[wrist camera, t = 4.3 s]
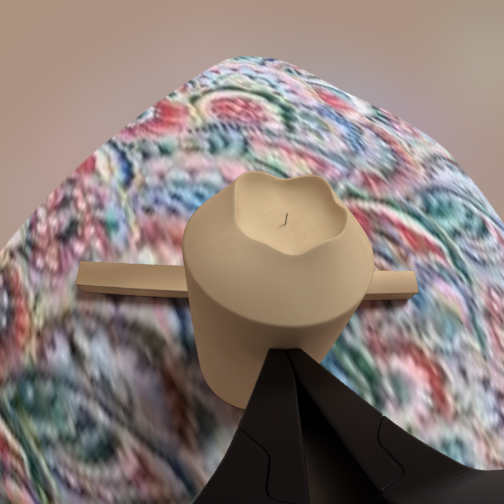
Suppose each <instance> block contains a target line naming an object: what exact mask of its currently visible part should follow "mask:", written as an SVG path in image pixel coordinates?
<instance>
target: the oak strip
mask: <svg viewBox="0 0 504 504" xmlns="http://www.w3.org/2000/svg"><path fill="white" fill-rule="evenodd" d="M76 285H77V286H78V287H79V288H80V289H81V290H82V291H84V292H95V293H108V294H122V295H137V296H154V297H173V298H189V297H188V290H187V283H186V276H185V268H184V266H172V265H148V264H125V263H104V262H83V261H80V265H79V270H78V275H77V279H76ZM417 293H418V287H417V282H416V277H415V272H414V271H374V274H373V279H372V282H371V285H370V287H369V289H368V291H367V293H366V294H365V296H364V298H363V299H362V300H391V299H409V298H411V297H412V296H414V295H415V294H417Z"/></svg>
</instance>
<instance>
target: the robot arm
mask: <svg viewBox="0 0 504 504" xmlns="http://www.w3.org/2000/svg"><path fill="white" fill-rule="evenodd" d="M193 504H504V469H503V470H477V469H473V468H470V467H467V466H465V465H463V464H460V463H459V462H457V461H455V460H453V459H451V458H450V457H448V456H446V455H444V454H442V453H441V452H439V451H437V450H435V449H434V448H432V447H430V446H428V445H427V444H425V443H423V442H422V441H420V440H418V439H417V438H415V437H414V436H412V435H411V434H409V433H408V432H406V431H405V430H403V429H402V428H401V427H399V426H398V425H396V424H395V423H394V422H392V421H391V420H390V419H388V418H387V417H386V416H382V413H380V412H379V411H378V410H377V409H375V408H374V407H373V406H371V405H370V404H369V403H368V402H366V401H365V400H364V399H363V398H361V397H360V396H359V395H358V394H356V393H355V392H354V391H353V390H351V389H350V388H349V387H348V386H346V385H345V384H344V383H343V382H341V381H340V380H339V379H338V378H336V377H335V376H334V375H333V374H331V373H330V372H329V371H328V370H327V369H325V368H324V367H323V366H322V365H320V364H319V363H318V362H317V361H316V360H314V359H313V358H312V357H311V356H310V355H308V354H307V353H306V352H305V351H304V350H302V349H301V348H290V349H286V350H284V349H272V348H270V349H269V350H268V352H267V355H266V357H265V360H264V363H263V365H262V368H261V370H260V373H259V376H258V378H257V381H256V383H255V386H254V388H253V391H252V393H251V396H250V399H249V401H248V404H247V406H246V408H245V411H244V413H243V416H242V418H241V421H240V423H239V426H238V429H237V430H236V432H235V435H234V437H233V439H232V442H231V444H230V446H229V448H228V450H227V452H226V454H225V456H224V458H223V459H222V461H221V463H220V464H219V466H218V468H217V469H216V471H215V473H214V474H213V475H212V477H211V478H210V480H209V481H208V483H207V484H206V486H205V487H204V488H203V490H202V491H201V493H200V494H199V495H198V497H197V498H196V500H195V501H194V502H193Z"/></svg>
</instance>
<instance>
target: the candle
mask: <svg viewBox="0 0 504 504" xmlns="http://www.w3.org/2000/svg"><path fill="white" fill-rule="evenodd" d="M182 252H183V261H184V268H185V276H186V283H187V290H188V297H189V304H190V311H191V317H192V323H193V329H194V335H195V341H196V347H197V353H198V358H199V363H200V368H201V371H202V374H203V377H204V379H205V381H206V382H207V384H208V385H209V387H210V388H211V389H212V391H213V392H214V393H215V394H216V395H217V396H219V397H220V398H221V399H222V400H224V401H226V402H227V403H229V404H231V405H233V406H236V407H239V408H242V409H245V408H246V406H247V404H248V401H249V399H250V396H251V393H252V391H253V388H254V386H255V383H256V381H257V378H258V376H259V373H260V370H261V368H262V365H263V363H264V360H265V357H266V355H267V352H268V350H269V349H270V348H272V349H284V350H286V349H290V348H301V349H302V350H304V351H305V352H306V353H307V354H308V355H310V356H311V357H312V358H313V359H314V360H316V361H317V362H318V363H319V364H320V363H321V361H322V360H323V358H324V357H325V356H326V354H327V353H328V351H329V350H330V348H331V347H332V345H333V344H334V343H335V341H336V340H337V338H338V337H339V335H340V334H341V332H342V331H343V329H344V328H345V326H346V325H347V323H348V322H349V320H350V319H351V317H352V315H353V314H354V312H355V311H356V309H357V308H358V306H359V304H360V303H361V301H362V299H363V298H364V296H365V294H366V293H367V291H368V289H369V287H370V285H371V282H372V279H373V274H374V256H373V251H372V248H371V244H370V242H369V240H368V238H367V236H366V234H365V232H364V230H363V229H362V227H361V226H360V224H359V223H358V221H357V220H356V219H355V217H354V216H353V215H352V214H351V212H350V211H349V210H348V209H347V208H346V206H345V205H344V204H343V203H342V202H341V201H340V200H339V198H338V197H337V196H336V194H335V193H334V191H333V190H332V188H331V187H330V185H329V184H328V182H327V181H326V180H324V179H323V178H321V177H319V176H315V175H306V176H300V177H295V178H289V179H280V178H277V177H275V176H272V175H270V174H268V173H265V172H260V171H250V172H246V173H243V174H242V175H240V176H239V177H238V178H237V179H236V180H235V181H234V182H232V183H231V184H230V185H229V186H227V187H226V188H225V189H223V190H222V191H220V192H219V193H217V194H216V195H214V196H213V197H212V198H210V199H209V200H207V201H206V202H205V203H203V204H202V205H201V206H200V207H199V208H198V209H197V210H196V211H195V212H194V214H193V215H192V217H191V218H190V220H189V221H188V223H187V226H186V228H185V231H184V235H183V240H182Z"/></svg>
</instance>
